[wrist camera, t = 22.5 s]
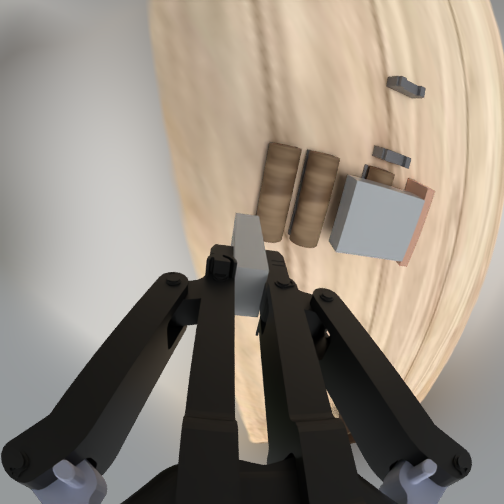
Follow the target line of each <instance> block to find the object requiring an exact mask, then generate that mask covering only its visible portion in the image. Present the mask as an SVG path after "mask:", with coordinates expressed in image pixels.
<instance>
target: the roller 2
mask: <svg viewBox="0 0 504 504" xmlns="http://www.w3.org/2000/svg"><path fill="white" fill-rule="evenodd" d="M339 162H340V158H338V157H335V156H332V155H329V154H325V153H321V152H316V151H310V152H309V156H308V161H307V165H306V170H305V174H304V179H303V183H302V187H301V192H300V196H299V200H298V205H297V209H296V213H295V217H294V221H293V225H292V230H291V234H290V240H291V241H292V242H293V243H294V244H296V245H299V246H302V247H306V248H314V247H316V246H317V243H318V240H319V237H320V233H321V230H322V226H323V223H324V219H325V216H326V212H327V208H328V205H329V201H330V197H331V193H332V190H333V186H334V182H335V178H336V174H337V170H338V166H339Z"/></svg>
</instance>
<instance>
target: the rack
mask: <svg viewBox="0 0 504 504" xmlns="http://www.w3.org/2000/svg"><path fill="white" fill-rule="evenodd" d="M387 87H389V88H391V89H393V90H396V91H398V92H400V93H402V94H404V95H406V96H408V97H410V98H424V95H425V88H424V87H422V86H417V85H415V84H413V83H411V82H409V81H407V78H405V77H403V76H393V77H388V81H387ZM372 156H375V157H377V158H380V159H383V160H385V161H388V162H392V163H395V164H397V165H400V166H403V167H405V168H408V169H409V166H410V162H411V158H409V157H406V156H404V155H401V154H398V153H396V152H393V151H390V150H388V149H385V148H382V147H378V146H374V150H373V154H372Z"/></svg>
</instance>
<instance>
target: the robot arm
mask: <svg viewBox="0 0 504 504" xmlns="http://www.w3.org/2000/svg"><path fill="white" fill-rule="evenodd" d="M259 310H260V319H259V323H258V327H257V331H256V336H258V333H259V338H260V350H261V361H262V373H263V385H264V396H265V408H266V420H267V431H268V443H269V452H268V457H267V465H261V464H256V463H251V462H247V461H243V460H239V452H238V451H239V449H238V425H237V421H236V420H235V354H234V338H235V315H240V316H250V317H258V314H259ZM194 324H197V328H196V335H195V342H194V349H193V355H192V363H191V371H190V377H189V385H188V393H187V402H186V410H185V416H184V417H183V423H182V431H181V441H180V451H179V462H178V464H177V465H173V466H171V467H169V468H167V469H165V470H163V471H162V472H160V473H159V474H158V475H156V476H155V477H154V478H153V479H152V480H150V481H149V482H148V483H147V484H146V485H144V486H143V487H142V488H140V489H139V490H138V491H137V492H135V493H134V494H133V495H131V496H130V497H129V498H128V499H126V500H125V501H123V502H122V503H121V504H437V503H438V501H439V500H440V498H441V497H442V495H443V493H444V492H445V490H446V488H447V487H448V486H450V485H451V484H453V483H455V482H457V481H459V480H460V479H462V478H464V477H465V476H467V475H468V473H469V472H470V470H471V466H472V460H471V457H470V454H469V453H468V452H467V450H466V449H464V448H463V447H462V446H460V445H459V444H458V443H457V442H455V441H454V440H453V439H452V438H450V437H449V436H448V435H447V434H445V433H444V432H443V431H442V430H440V429H439V428H438V427H437V426H436V425H434V423H433V421H432V420H431V419H430V417H429V416H428V414H427V413H426V412H425V410H424V409H423V407H422V406H421V404H420V403H419V401H418V400H417V399H416V397H415V396H414V394H413V393H412V392H411V390H410V389H409V387H408V386H407V385H406V383H405V382H404V381H403V379H402V378H401V376H400V375H399V374H398V372H397V371H396V370H395V368H394V367H393V366H392V364H391V363H390V362H389V360H388V359H387V358H386V356H385V355H384V354H383V352H382V351H381V350H380V348H379V347H378V346H377V344H376V343H375V342H374V340H373V339H372V338H371V337H370V335H369V334H368V333H367V331H366V330H365V329H364V328H363V326H362V325H361V324H360V322H359V321H358V320H357V319H356V317H355V316H354V315H353V314H352V312H351V311H350V310H349V308H348V307H347V306H346V305H345V303H344V302H343V301H342V300H341V299H340V297H339V296H338V295H337V294H336V293H335V292H333V291H331V290H329V289H325V288H319V289H316V290H314V291H313V294H308V293H305V292H302V291H300V290H298V288H297V285H296V283H295V282H294V281H293V280H292V279H290V278H289V275H288V272H287V268H286V265H285V261H284V258H283V256H282V255H281V254H280V253H279V252H278V251H270V250H265V246H264V241H263V235H262V230H261V224H260V219H259V216H255V215H248V214H241V213H236V216H235V222H234V229H233V236H232V242H231V246H226V245H218V244H215V245H214V246H213V247H212V248H211V252H210V256H208V258H207V263H206V273H205V276H204V277H203V278H201V279H198V280H193V281H188V278H187V277H186V276H185V275H183V274H181V273H177V272H168V273H165V274H163V275H161V276H160V277H159V278H158V279H157V280H156V282H155V283H154V284H153V285H152V286H151V287H150V288H149V289H148V291H147V292H146V293H145V294H144V295H143V296H142V297H141V299H140V300H139V301H138V302H137V303H136V304H135V306H134V307H133V308H132V309H131V310H130V311H129V313H128V314H127V315H126V316H125V317H124V319H123V320H122V321H121V322H120V323H119V325H118V326H117V327H116V328H115V330H114V331H113V332H112V333H111V334H110V336H109V337H108V338H107V339H106V340H105V342H104V343H103V344H102V345H101V347H100V348H99V349H98V351H97V352H96V353H95V354H94V356H93V357H92V358H91V360H90V361H89V362H88V363H87V364H86V366H85V367H84V369H83V370H82V371H81V372H80V374H79V375H78V377H77V378H76V379H75V381H74V382H73V383H72V384H71V386H70V387H69V388H68V390H67V391H66V392H65V394H64V395H63V397H62V398H61V399H60V401H59V402H58V403H57V405H56V406H55V408H54V409H53V411H52V412H51V413H50V415H48V416H47V417H45V418H44V419H42V420H41V421H39V422H38V423H36V424H35V425H33V426H32V427H30V428H29V429H27V430H26V431H24V432H23V433H21V434H20V435H18V436H17V437H15V438H14V439H12V440H11V441H9V442H8V443H7V444H6V445H5V446H4V447H3V450H2V453H1V460H2V464H3V467H4V469H5V471H6V472H7V474H8V475H9V476H10V477H11V478H13V479H14V480H15V481H17V482H19V483H21V484H23V485H25V486H26V487H29V488H30V489H31V490H32V491H33V492H34V493H35V495H36V496H37V497H38V499H39V500H40V501H41V503H42V504H101V502H102V501H103V499H104V497H105V496H106V493H107V485H106V482H105V480H104V478H103V477H102V475H103V474H104V473H105V472H106V471H107V469H108V468H109V467H110V465H111V464H112V463H113V461H114V460H115V458H116V456H117V455H118V453H119V451H120V449H121V447H122V445H123V443H124V441H125V440H126V438H127V436H128V434H129V432H130V430H131V428H132V426H133V425H134V423H135V421H136V419H137V417H138V415H139V413H140V412H141V410H142V408H143V406H144V404H145V402H146V401H147V399H148V397H149V395H150V393H151V391H152V389H153V388H154V386H155V384H156V382H157V381H158V379H159V377H160V375H161V373H162V371H163V370H164V368H165V366H166V364H167V362H168V361H169V359H170V357H171V355H172V354H173V352H174V350H175V348H176V346H177V345H178V343H179V341H180V339H181V337H182V336H183V334H184V332H185V331H186V328H187V325H194ZM327 330H328V332H329V334H330V336H329V335H328V334H327V333H326V332H327ZM326 389H327V391H328V393H329V395H330V397H331V398H332V400H333V402H334V404H335V406H336V407H337V409H338V411H339V413H340V415H341V417H342V418H343V420H344V422H345V424H346V426H347V427H348V429H349V431H350V433H351V435H352V436H353V438H354V440H355V442H356V443H357V445H358V447H359V449H360V451H361V453H362V455H363V456H364V458H365V460H366V461H367V463H368V465H369V466H370V468H371V469H372V470H373V471H374V473H375V474H376V475H377V476H378V477H379V478H380V479H381V480H382V481H383V484H382V485H381V486H380V488H379V490H378V489H377V488H376V487H374V486H373V485H372V484H370V483H369V482H368V481H366V480H365V479H364V478H363V477H361V476H360V475H359V474H358V473H357V470H356V466H355V461H354V457H353V453H352V449H351V445H350V441H349V437H348V434H347V430H346V427H345V424H344V422H343V421H342V420H341V419H339V418H335V417H334V416H333V414H332V411H331V407H330V403H329V399H328V395H327V391H326Z"/></svg>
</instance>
